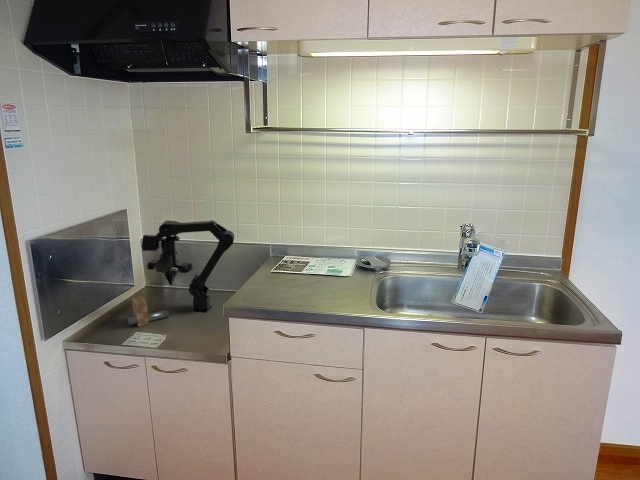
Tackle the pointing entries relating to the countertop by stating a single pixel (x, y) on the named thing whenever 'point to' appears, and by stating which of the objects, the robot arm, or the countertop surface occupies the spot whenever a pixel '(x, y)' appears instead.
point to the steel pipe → (150, 317)
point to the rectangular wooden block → (140, 310)
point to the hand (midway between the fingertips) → (171, 284)
